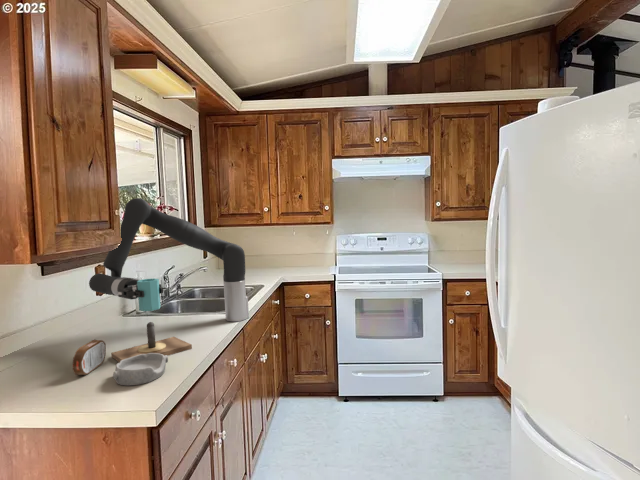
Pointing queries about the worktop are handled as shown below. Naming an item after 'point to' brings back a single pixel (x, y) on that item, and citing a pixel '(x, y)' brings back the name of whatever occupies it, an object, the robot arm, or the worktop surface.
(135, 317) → the worktop surface
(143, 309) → the collar
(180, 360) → the worktop surface
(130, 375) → the dish
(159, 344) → the post stand
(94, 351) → the tin
